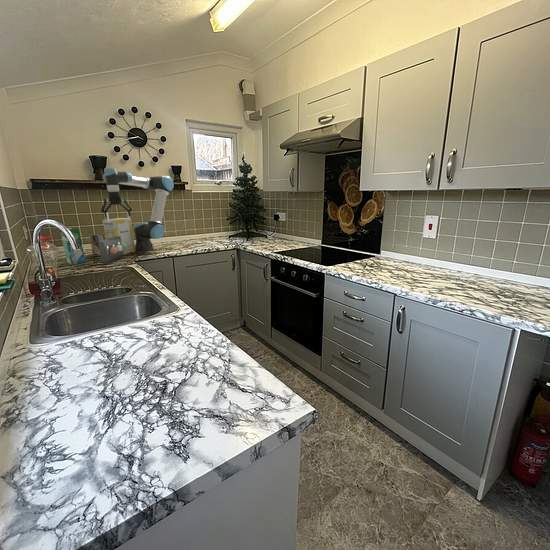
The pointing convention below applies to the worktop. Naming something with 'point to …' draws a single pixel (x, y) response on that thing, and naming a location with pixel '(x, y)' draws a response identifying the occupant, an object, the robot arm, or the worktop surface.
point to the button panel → (105, 249)
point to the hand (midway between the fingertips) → (119, 221)
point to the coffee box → (96, 243)
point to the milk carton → (70, 253)
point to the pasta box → (120, 232)
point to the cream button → (119, 247)
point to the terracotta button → (113, 250)
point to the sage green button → (124, 245)
